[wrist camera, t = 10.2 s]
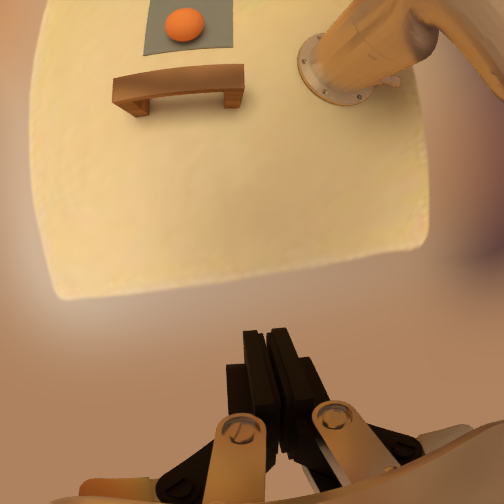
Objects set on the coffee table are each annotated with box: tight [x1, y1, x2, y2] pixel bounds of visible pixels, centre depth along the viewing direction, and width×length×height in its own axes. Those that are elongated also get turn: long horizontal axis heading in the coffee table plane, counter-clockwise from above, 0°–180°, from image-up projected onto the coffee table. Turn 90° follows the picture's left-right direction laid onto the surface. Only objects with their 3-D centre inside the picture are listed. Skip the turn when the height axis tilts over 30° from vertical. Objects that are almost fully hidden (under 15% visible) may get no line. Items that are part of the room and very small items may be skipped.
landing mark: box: [143, 0, 233, 56], centre depth 29 cm, size 13×13×1 cm
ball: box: [165, 8, 204, 41], centre depth 27 cm, size 6×6×6 cm
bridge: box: [112, 64, 245, 117], centre depth 28 cm, size 3×14×9 cm, turn 92°
